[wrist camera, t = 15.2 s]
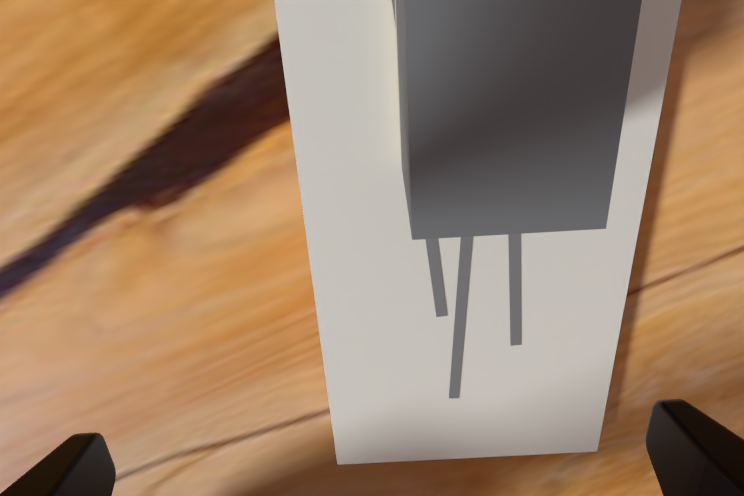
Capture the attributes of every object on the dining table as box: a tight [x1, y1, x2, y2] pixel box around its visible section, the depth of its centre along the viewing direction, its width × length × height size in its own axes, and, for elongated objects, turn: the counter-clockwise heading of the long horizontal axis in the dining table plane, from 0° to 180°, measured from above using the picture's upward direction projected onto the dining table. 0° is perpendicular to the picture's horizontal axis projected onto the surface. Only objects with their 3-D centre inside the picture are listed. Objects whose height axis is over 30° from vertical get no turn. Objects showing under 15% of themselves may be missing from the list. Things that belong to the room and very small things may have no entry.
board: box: [274, 0, 682, 465], centre depth 20 cm, size 21×11×1 cm, turn 4°
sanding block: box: [395, 0, 642, 240], centre depth 14 cm, size 7×4×5 cm, turn 3°
